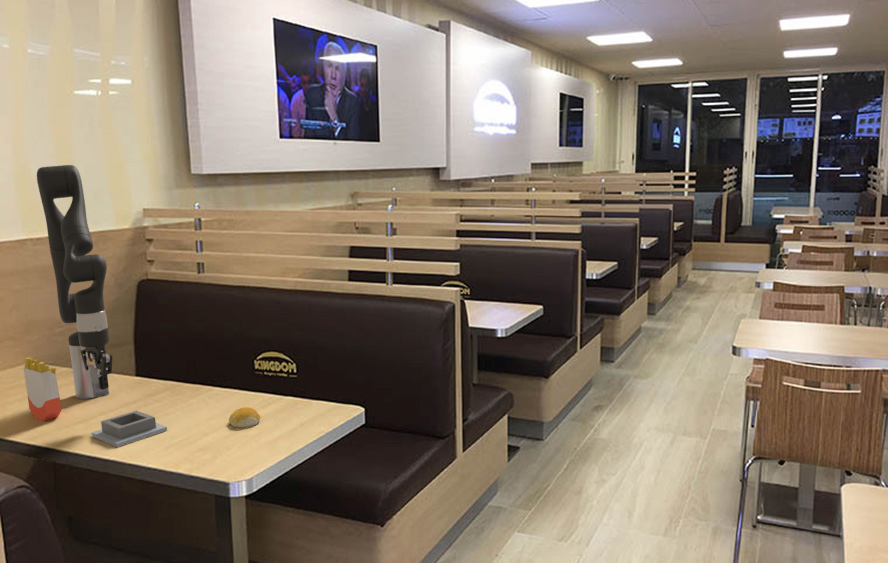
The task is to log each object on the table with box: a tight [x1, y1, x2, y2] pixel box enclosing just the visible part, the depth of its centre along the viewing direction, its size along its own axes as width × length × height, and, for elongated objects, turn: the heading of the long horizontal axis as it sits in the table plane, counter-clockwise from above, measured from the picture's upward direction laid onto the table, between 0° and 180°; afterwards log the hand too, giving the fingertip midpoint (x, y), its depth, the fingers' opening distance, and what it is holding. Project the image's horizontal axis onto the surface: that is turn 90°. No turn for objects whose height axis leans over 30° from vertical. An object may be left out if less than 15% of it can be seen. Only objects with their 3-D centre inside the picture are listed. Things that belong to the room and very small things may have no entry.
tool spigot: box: [89, 361, 110, 398], centre depth 200 cm, size 4×4×10 cm
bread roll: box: [228, 406, 261, 429], centre depth 200 cm, size 8×9×4 cm
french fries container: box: [23, 356, 62, 422], centre depth 211 cm, size 5×11×18 cm, turn 54°
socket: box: [91, 410, 168, 448], centre depth 195 cm, size 14×14×4 cm
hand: (100, 386), depth 201 cm, fingers closed on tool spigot, 4 cm apart
